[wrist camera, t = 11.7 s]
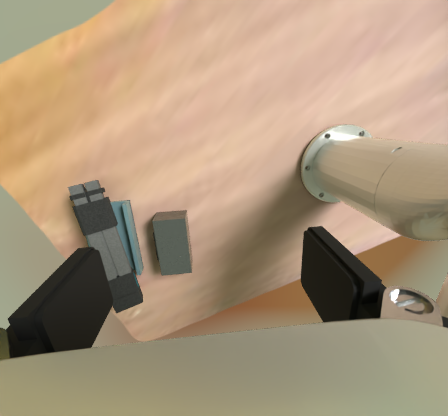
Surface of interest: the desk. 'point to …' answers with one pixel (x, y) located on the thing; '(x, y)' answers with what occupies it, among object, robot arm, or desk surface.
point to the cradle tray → (127, 233)
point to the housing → (173, 242)
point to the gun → (106, 242)
